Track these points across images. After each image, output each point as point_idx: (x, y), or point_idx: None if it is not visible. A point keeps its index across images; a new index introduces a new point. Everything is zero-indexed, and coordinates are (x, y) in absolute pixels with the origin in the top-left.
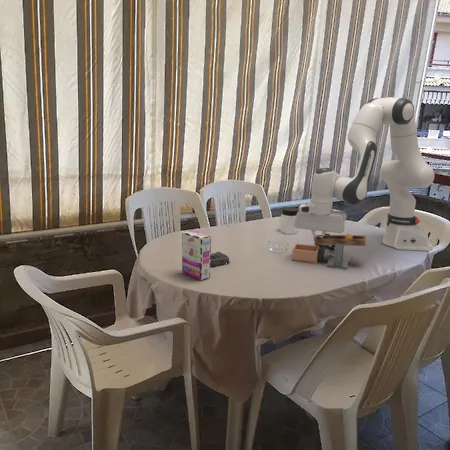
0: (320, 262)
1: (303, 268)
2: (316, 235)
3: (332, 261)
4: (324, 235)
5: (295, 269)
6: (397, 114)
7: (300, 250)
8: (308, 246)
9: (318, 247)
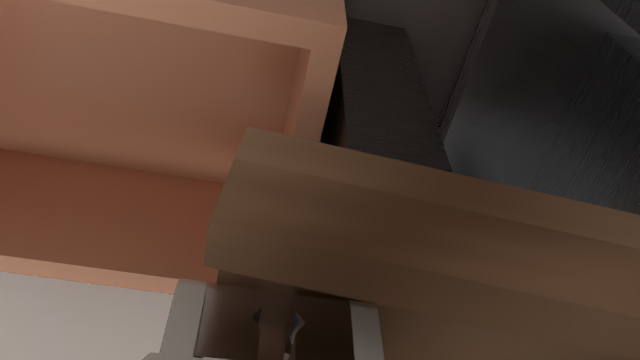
0: None
1: (150, 322)
2: (224, 254)
3: (488, 173)
4: (459, 299)
5: (80, 349)
6: None
7: (16, 268)
8: (108, 4)
9: (311, 104)
